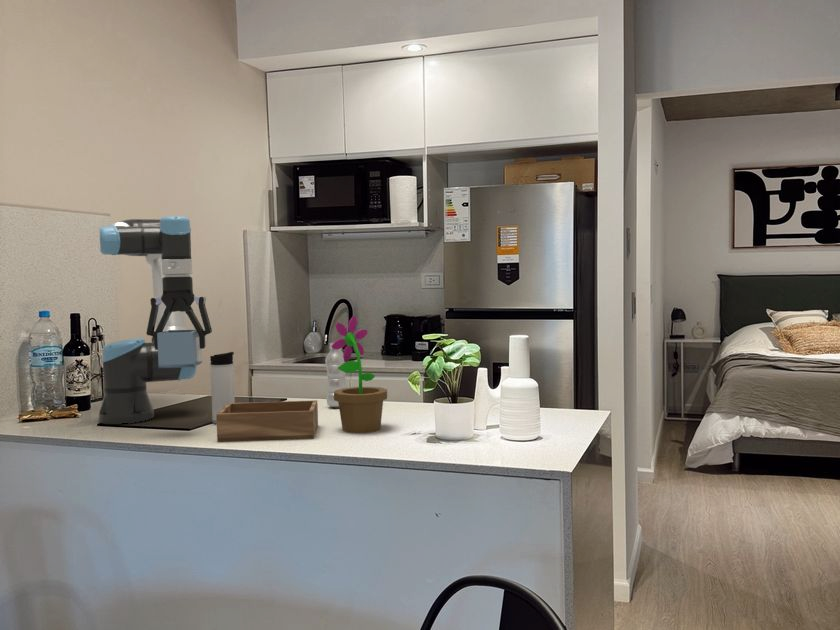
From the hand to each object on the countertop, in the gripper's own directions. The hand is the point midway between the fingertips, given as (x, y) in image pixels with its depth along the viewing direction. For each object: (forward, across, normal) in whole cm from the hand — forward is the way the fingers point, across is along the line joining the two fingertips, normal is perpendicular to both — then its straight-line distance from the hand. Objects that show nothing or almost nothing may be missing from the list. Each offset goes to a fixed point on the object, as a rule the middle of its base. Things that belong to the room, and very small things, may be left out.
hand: (180, 361), depth 203 cm
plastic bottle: (+19, +39, +32) cm, 54 cm away
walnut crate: (+19, +23, -3) cm, 30 cm away
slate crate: (+1, 0, 0) cm, 1 cm away
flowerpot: (+19, +47, -1) cm, 51 cm away
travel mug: (+19, +8, +14) cm, 25 cm away
